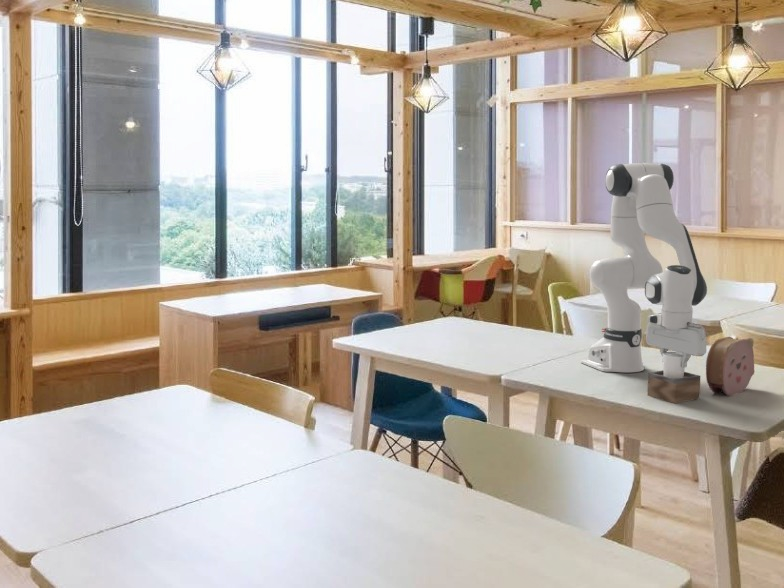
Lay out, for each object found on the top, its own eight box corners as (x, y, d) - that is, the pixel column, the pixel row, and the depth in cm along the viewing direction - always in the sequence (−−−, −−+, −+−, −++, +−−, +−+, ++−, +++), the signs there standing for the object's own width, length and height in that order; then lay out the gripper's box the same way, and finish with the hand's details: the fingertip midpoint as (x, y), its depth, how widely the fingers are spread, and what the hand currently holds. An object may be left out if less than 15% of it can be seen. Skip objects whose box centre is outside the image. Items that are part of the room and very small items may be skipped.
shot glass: (656, 375, 246) (657, 352, 245) (673, 372, 249) (674, 350, 248) (673, 380, 240) (674, 357, 239) (690, 377, 243) (691, 354, 242)
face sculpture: (724, 399, 243) (727, 345, 240) (703, 395, 248) (705, 341, 245) (754, 387, 256) (757, 336, 253) (733, 383, 261) (736, 333, 259)
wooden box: (647, 395, 248) (648, 372, 247) (671, 390, 253) (672, 368, 252) (674, 403, 239) (676, 380, 238) (699, 398, 244) (700, 375, 243)
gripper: (712, 324, 235) (710, 370, 237) (657, 314, 253) (655, 357, 255) (697, 326, 232) (695, 373, 234) (643, 316, 250) (641, 359, 252)
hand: (674, 365), depth 244 cm, fingers closed on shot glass, 5 cm apart
